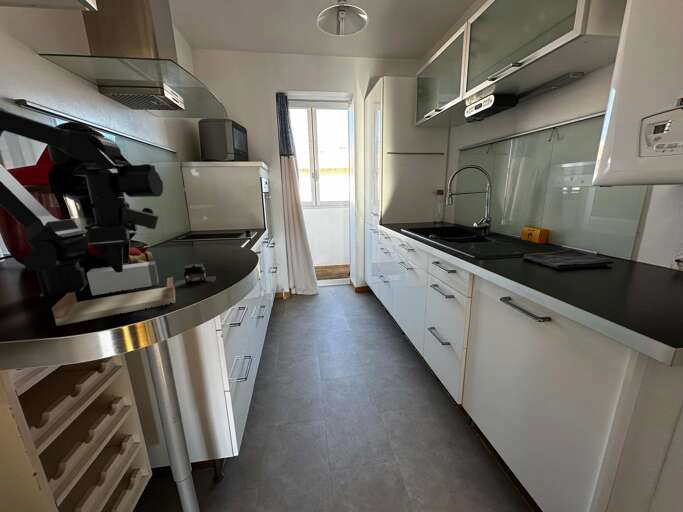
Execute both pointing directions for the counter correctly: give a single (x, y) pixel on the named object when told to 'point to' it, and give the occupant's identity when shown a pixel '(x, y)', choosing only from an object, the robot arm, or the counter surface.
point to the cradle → (111, 304)
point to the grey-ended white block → (122, 278)
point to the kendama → (139, 257)
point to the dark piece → (197, 280)
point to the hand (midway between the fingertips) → (122, 267)
